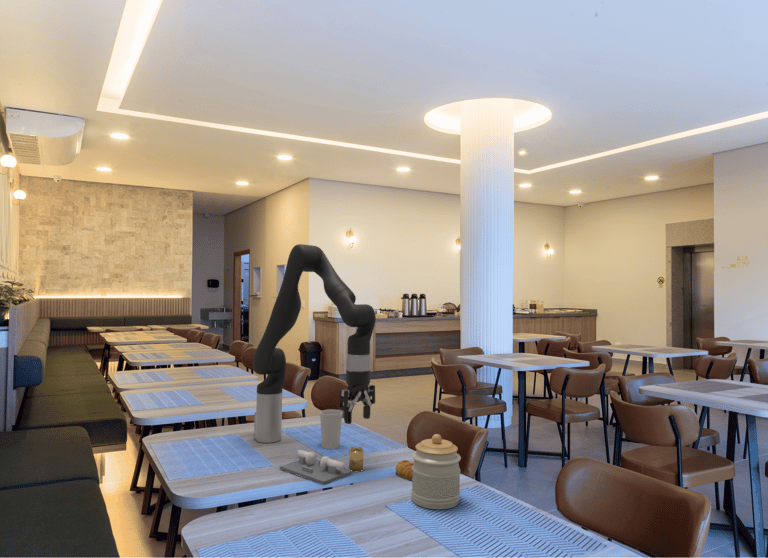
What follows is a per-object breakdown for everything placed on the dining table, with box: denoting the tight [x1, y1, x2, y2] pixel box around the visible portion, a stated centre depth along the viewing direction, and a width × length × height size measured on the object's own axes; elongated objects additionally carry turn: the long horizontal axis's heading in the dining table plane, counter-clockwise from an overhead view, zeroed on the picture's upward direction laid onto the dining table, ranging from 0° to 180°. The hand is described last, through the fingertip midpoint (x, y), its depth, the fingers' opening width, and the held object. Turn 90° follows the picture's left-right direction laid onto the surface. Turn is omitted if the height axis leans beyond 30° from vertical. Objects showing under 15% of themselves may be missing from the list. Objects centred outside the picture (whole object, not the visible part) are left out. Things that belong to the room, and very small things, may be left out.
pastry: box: [394, 459, 414, 482], centre depth 162 cm, size 9×7×4 cm
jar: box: [410, 433, 462, 510], centre depth 144 cm, size 13×13×18 cm
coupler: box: [348, 446, 365, 472], centre depth 166 cm, size 4×4×7 cm
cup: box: [319, 409, 344, 450], centre depth 190 cm, size 8×8×12 cm
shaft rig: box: [279, 449, 353, 486], centre depth 163 cm, size 19×12×5 cm, turn 51°
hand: (357, 420), depth 167 cm, fingers open, 8 cm apart
